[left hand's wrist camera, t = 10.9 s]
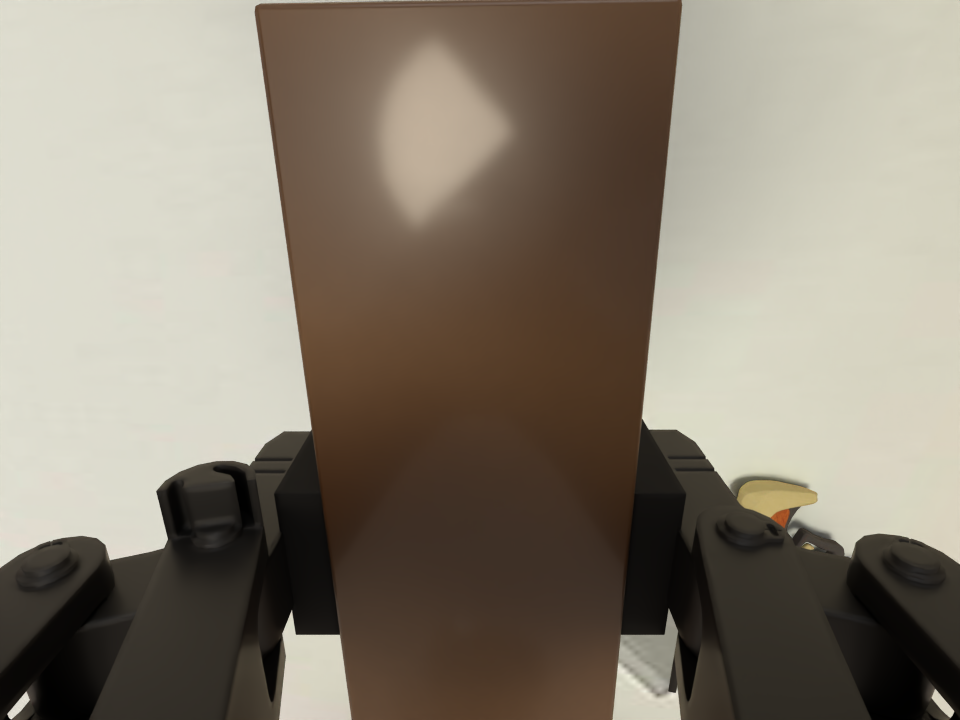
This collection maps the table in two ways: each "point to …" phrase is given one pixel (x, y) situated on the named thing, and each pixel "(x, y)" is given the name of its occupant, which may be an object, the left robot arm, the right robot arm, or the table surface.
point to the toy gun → (784, 509)
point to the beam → (474, 331)
